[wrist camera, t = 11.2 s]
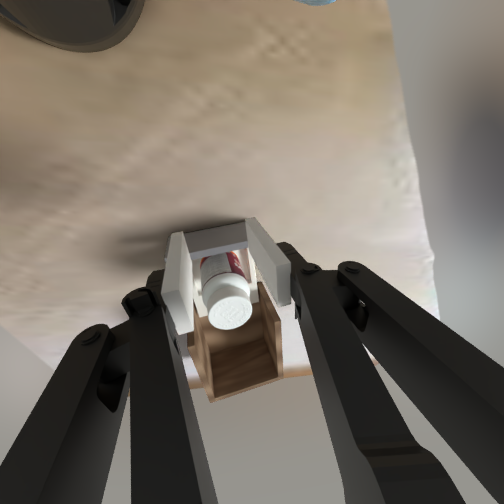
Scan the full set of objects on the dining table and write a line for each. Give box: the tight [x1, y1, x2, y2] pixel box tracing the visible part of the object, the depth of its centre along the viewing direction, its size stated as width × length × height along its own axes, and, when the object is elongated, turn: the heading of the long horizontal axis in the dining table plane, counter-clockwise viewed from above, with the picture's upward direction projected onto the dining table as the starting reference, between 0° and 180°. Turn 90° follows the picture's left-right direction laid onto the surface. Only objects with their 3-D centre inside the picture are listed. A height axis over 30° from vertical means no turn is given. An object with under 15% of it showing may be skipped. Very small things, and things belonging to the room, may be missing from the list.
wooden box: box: [187, 282, 283, 403], centre depth 39 cm, size 16×14×10 cm
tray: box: [164, 222, 259, 317], centre depth 33 cm, size 16×13×6 cm
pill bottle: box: [200, 251, 252, 330], centre depth 29 cm, size 6×6×11 cm
